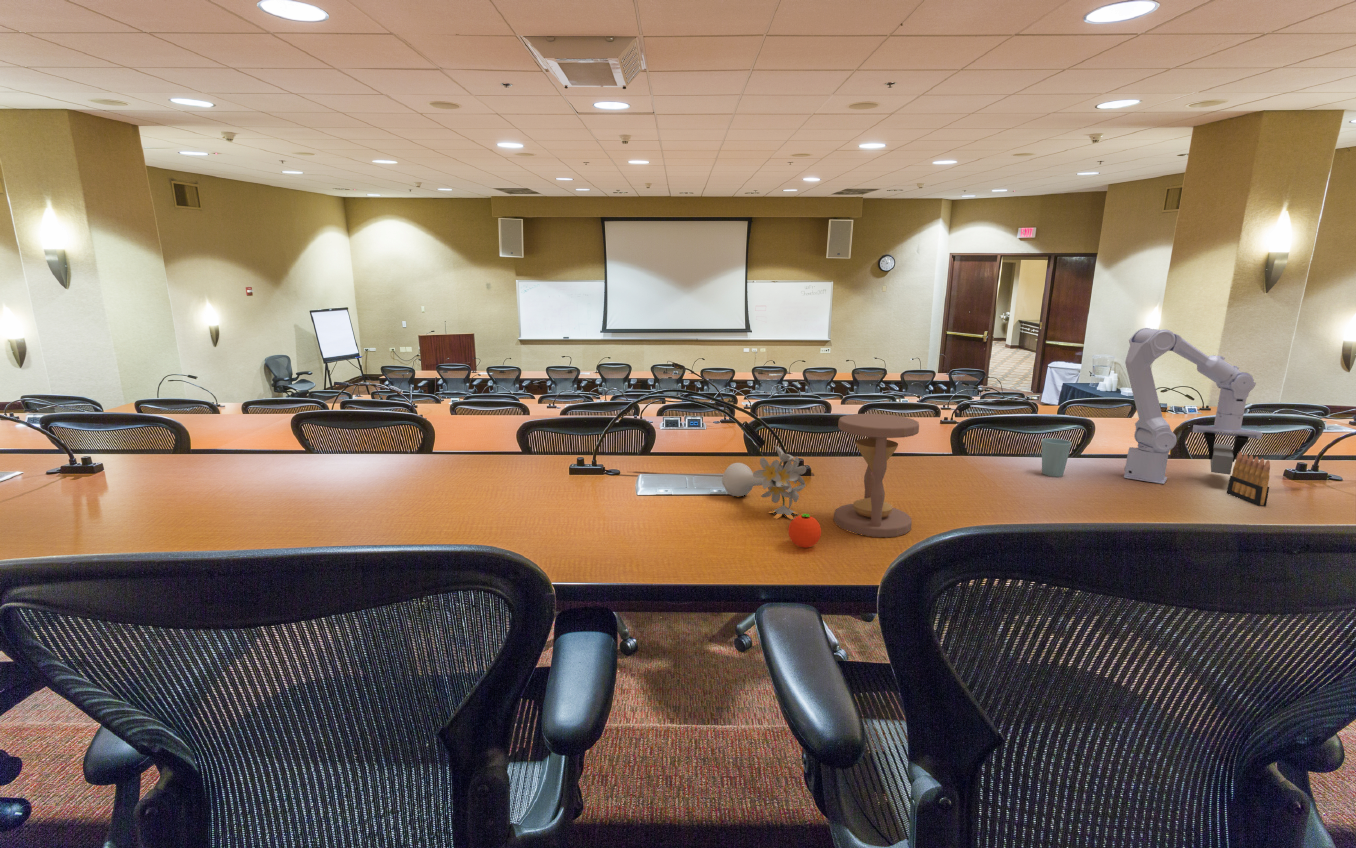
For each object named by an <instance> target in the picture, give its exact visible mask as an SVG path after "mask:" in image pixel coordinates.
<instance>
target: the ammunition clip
mask: <svg viewBox="0 0 1356 848" xmlns="http://www.w3.org/2000/svg"><path fill="white" fill-rule="evenodd" d="M1270 469H1271V462H1270V459H1266V461H1265V459H1264V458H1263V457H1262V458H1261V459H1260V460H1259V457H1258V456H1256V457H1255V458H1254V456H1253V455H1252V454H1250V455H1249V456H1248V453H1247V452H1245V453H1244V454H1243V452H1242V451H1241V450H1240V451H1239V453H1238V454H1237V456H1236V458H1235V461H1234V466H1233V468H1232V472H1231V475H1229V476H1230V477H1229V480H1228V485H1227V488H1226V494H1228V495H1229V494H1230V496H1233V497H1234V496H1235V498H1237V497H1238V498H1237V499H1239V498H1240V499H1239V500H1242V501H1245V502H1247V503H1250V504H1252V505H1254V506H1258V507H1266V506H1267V504H1268V503H1267V502H1268V497H1269V490H1270V486H1269V481H1270Z"/></svg>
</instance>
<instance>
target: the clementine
mask: <svg viewBox="0 0 1356 848" xmlns="http://www.w3.org/2000/svg"><path fill="white" fill-rule="evenodd" d="M787 530H788V537H789V539H790V540H791V542H792V543H793V544H794V545H796V546H797V547H799V548H805V549H808V548H811V547H813V546H815V545H816V544H817V543H818V542H819V540H820V539H821V536H822V529H821V524H820V523H819V521H818V520H817V519H816V518H814V517H813V516H811V515H810V514H809V513H802V514H800V515H797V516H796V517H794V519H793V520H792V519H791V521H790V522H789V525H788V529H787Z"/></svg>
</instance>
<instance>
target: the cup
mask: <svg viewBox="0 0 1356 848" xmlns="http://www.w3.org/2000/svg"><path fill="white" fill-rule="evenodd" d="M1071 446H1072V441H1070V440H1067V439H1061V438H1052V437H1050V438H1047V437H1046V438H1042V439H1041V474H1042V475H1043V476H1048V477H1057V478H1060V477H1063V476H1064V474H1065V470H1066V466H1067V462H1068V459H1069V454H1070V450H1071Z"/></svg>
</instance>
